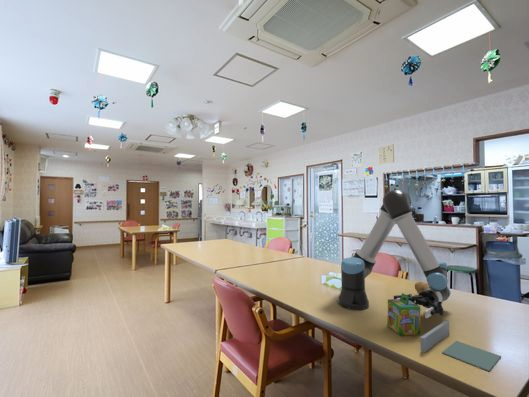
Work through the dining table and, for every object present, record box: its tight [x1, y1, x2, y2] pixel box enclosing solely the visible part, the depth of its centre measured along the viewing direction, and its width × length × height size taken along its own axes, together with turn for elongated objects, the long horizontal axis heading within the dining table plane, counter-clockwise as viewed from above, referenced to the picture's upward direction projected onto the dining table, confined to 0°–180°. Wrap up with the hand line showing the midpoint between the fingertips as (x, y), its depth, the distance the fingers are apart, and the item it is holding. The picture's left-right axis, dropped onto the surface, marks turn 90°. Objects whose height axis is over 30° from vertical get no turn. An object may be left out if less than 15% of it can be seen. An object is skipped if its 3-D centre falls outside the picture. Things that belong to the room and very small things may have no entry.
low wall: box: [420, 320, 450, 354], centre depth 101 cm, size 1×22×5 cm, turn 126°
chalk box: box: [387, 292, 422, 337], centre depth 111 cm, size 9×9×15 cm
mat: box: [441, 340, 502, 372], centre depth 92 cm, size 13×13×1 cm
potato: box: [414, 281, 429, 295], centre depth 147 cm, size 10×14×8 cm
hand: (408, 309), depth 112 cm, fingers open, 13 cm apart
